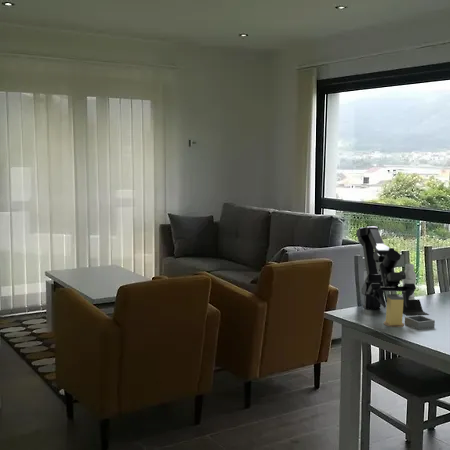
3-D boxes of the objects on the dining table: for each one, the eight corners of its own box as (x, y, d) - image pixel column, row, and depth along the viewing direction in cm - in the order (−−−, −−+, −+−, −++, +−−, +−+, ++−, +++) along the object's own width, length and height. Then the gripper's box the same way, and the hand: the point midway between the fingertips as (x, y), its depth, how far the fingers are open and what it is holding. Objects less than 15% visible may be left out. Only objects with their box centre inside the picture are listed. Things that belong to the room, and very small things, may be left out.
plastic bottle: (416, 307, 278) (418, 264, 275) (412, 310, 272) (414, 266, 270) (402, 304, 281) (404, 262, 279) (398, 307, 275) (400, 264, 273)
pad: (386, 328, 242) (386, 325, 242) (381, 322, 250) (381, 320, 250) (406, 328, 243) (406, 326, 242) (400, 323, 250) (400, 320, 250)
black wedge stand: (410, 314, 258) (404, 293, 263) (400, 321, 263) (394, 300, 269) (431, 316, 262) (425, 295, 267) (421, 323, 268) (415, 302, 273)
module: (385, 321, 249) (387, 294, 247) (397, 321, 249) (399, 294, 248) (390, 325, 244) (391, 297, 242) (402, 325, 244) (403, 297, 243)
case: (391, 319, 255) (391, 311, 255) (407, 318, 258) (407, 310, 258) (418, 330, 240) (418, 322, 239) (434, 328, 243) (434, 320, 243)
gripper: (371, 263, 247) (379, 296, 237) (415, 264, 248) (425, 296, 239) (364, 278, 255) (371, 310, 246) (407, 278, 257) (415, 310, 247)
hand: (396, 307), depth 244 cm, fingers open, 9 cm apart
